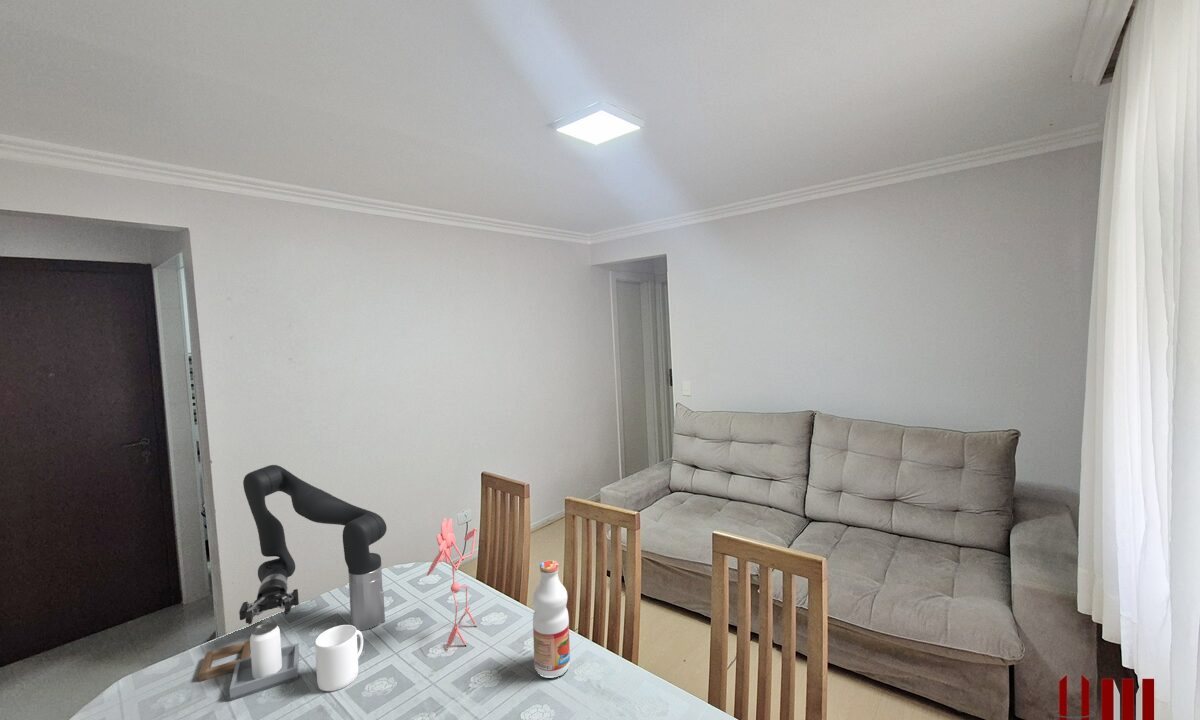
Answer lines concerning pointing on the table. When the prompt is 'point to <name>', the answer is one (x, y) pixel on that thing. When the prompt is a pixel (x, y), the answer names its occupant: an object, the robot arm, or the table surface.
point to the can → (265, 650)
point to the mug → (337, 657)
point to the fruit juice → (550, 623)
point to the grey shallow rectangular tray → (248, 685)
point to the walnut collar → (220, 653)
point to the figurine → (445, 543)
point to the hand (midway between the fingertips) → (268, 616)
